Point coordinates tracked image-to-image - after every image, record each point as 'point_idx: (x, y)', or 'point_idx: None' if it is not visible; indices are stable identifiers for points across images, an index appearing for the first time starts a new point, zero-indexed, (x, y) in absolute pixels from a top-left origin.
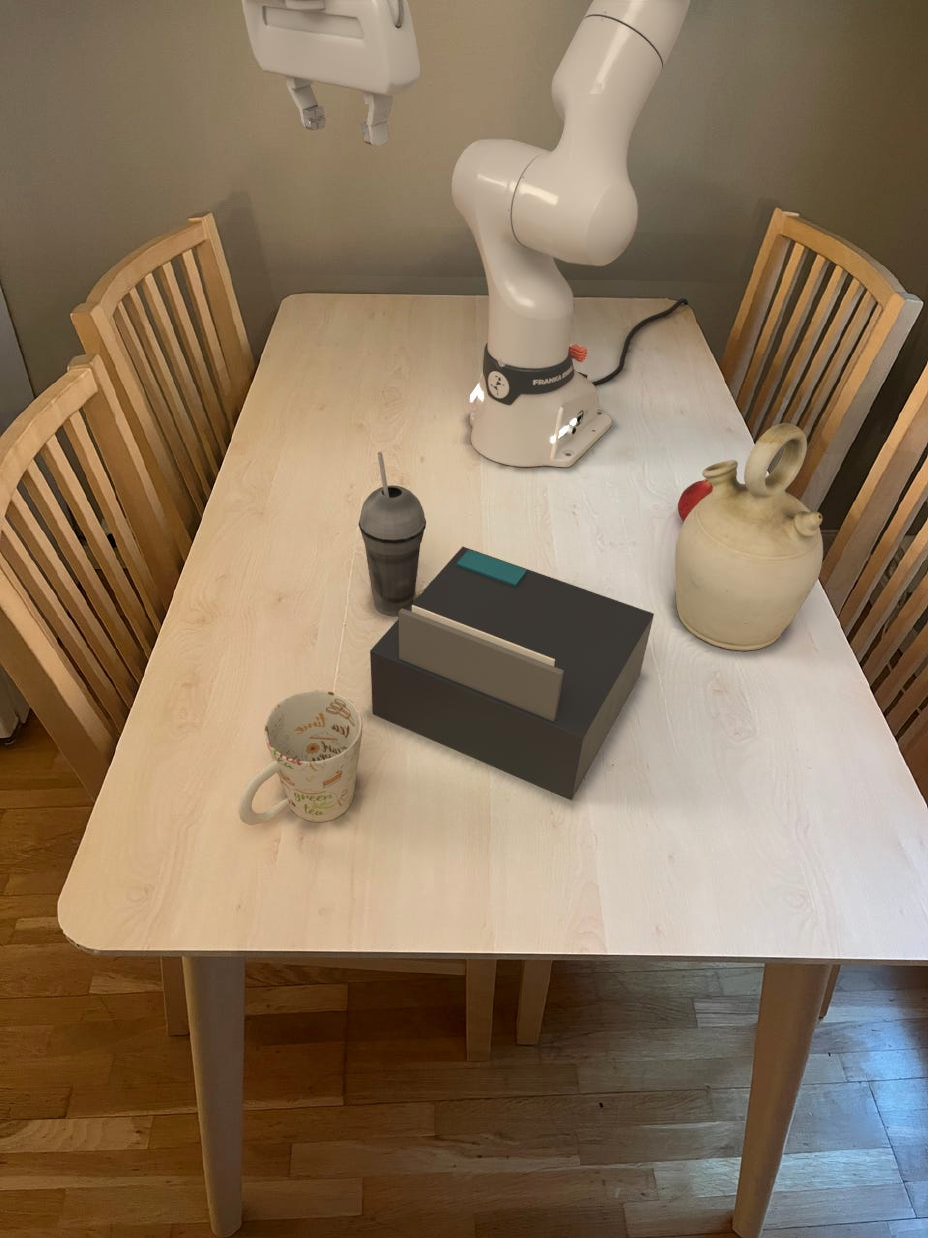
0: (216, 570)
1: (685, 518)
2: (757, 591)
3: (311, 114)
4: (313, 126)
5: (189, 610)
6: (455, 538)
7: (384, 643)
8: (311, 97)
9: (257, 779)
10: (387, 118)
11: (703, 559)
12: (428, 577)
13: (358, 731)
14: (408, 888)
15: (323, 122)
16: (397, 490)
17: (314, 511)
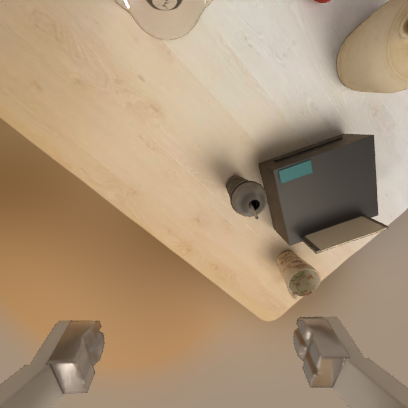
0: (162, 231)
1: (320, 2)
2: None
3: (91, 377)
4: (102, 348)
5: (179, 251)
6: (218, 125)
7: (291, 239)
8: (28, 395)
9: (298, 297)
10: (374, 364)
11: (394, 88)
12: (232, 159)
13: (315, 271)
14: (327, 258)
15: (94, 328)
16: (243, 190)
17: (149, 169)
